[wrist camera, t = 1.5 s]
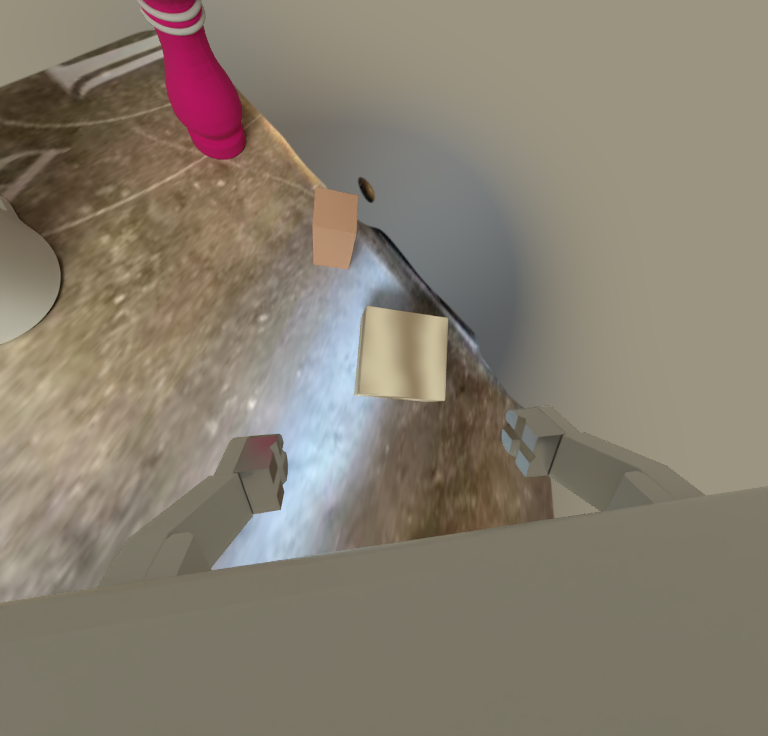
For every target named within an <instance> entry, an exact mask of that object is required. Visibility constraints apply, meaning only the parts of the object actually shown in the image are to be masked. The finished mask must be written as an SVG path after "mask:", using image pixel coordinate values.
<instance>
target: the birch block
mask: <svg viewBox="0 0 768 736" xmlns="http://www.w3.org/2000/svg"><path fill="white" fill-rule="evenodd" d="M447 333H448V318H444V317H437V316H431V315H424V314H418V313H411V312H405V311H398V310H392V309H385V308H378V307H372V306H367V307H366V309H365V311H364V313H363V315H362V318H361V325H360V336H359V347H358V358H357V369H356V381H355V392H354V395H357V396H368V397H379V398H391V399H402V400H413V401H425V402H435V401H445V384H446V359H447Z"/></svg>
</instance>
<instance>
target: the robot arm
mask: <svg viewBox="0 0 768 736" xmlns="http://www.w3.org/2000/svg"><path fill="white" fill-rule="evenodd" d="M60 280H61V273H60V267H59V263H58V260H57V257H56V255H55V253H54V251H53V250H52V248H51V246H50V245H49V244H48V243H47V242H46V240H45V239H44V238H43V237H42V236H41V235H39V234H38V233H37V232H36V231H34V230H33V229H31V228H30V227H28V226H27V225H26V224H24V223H23V222H22V221H21V220H20V219H19V218H18V216H17V214H16V213H15V211H14V209H13V207H12V206H11V204H10V203H9V202H8V201H7V200H6V199H5V198H4V197H2V196H0V344H2V343H5V342H7V341H10V340H12V339H14V338H16V337H18V336H20V335H22V334H23V333H25V332H27V331H28V330H30V329H31V328H32V327H34V326H35V325H36V324H37V323H38V322H39V321H40V320H41V319H42V318H43V317H44V316H45V315H46V314H47V313H48V311H49V310H50V308H51V307H52V305H53V304H54V302H55V300H56V297H57V295H58V292H59V288H60ZM505 419H506V421H507V422H508V424H507V425H506V426H505V427H504V428H503V432H502V440H503V444H504V447H505V449H506V450H507V452H508V453H509V454H510V455H512V456H514V457H516V462H515V463H516V465H517V466H518V467H519V469H520V470H521V471H522V473H523V474H524V476H525V477H533V476H543V475H549V477H551V478H552V479H554V480H555V481H557V482H558V483H560V484H561V485H563V486H564V487H566V488H567V489H568V490H570V491H571V492H573V493H574V494H576V495H577V496H579V497H580V498H582V499H583V500H585V501H586V502H588V503H589V504H591V505H592V506H594V507H595V508H597V509H598V510H599V511H601V512H595V513H588V514H581V515H575V516H568V517H562V518H555V519H548V520H542V521H535V522H529V523H522V524H515V525H509V526H502V527H496V528H489V529H483V530H476V531H469V532H463V533H456V534H450V535H443V536H436V537H430V538H423V539H416V540H410V541H403V542H397V543H390V544H383V545H377V546H370V547H364V548H357V549H350V550H344V551H337V552H331V553H324V554H317V555H311V556H304V557H298V558H291V559H284V560H278V561H271V562H265V563H258V564H252V565H245V566H238V567H232V568H225V569H219V570H211V567H212V566H213V565H214V564H215V562H216V561H217V560H218V559H219V557H220V556H221V555H222V554H223V552H224V551H225V550H226V549H227V547H228V546H229V545H230V544H231V542H232V541H233V540H234V539H235V538H236V536H237V535H238V534H239V533H240V531H241V530H242V529H243V528H244V526H245V525H246V524H247V523H248V521H249V520H250V519H251V518H252V516H253V514H258V513H264V512H270V511H276V510H281V505H282V500H283V495H284V489H283V484H284V483H285V482H286V480H287V474H288V461H287V455H286V452H284V451H283V450H282V448H283V439H282V435H280V434H271V435H259V436H249V437H238V438H233V439H232V440H231V441H230V443H229V445H228V447H227V449H226V451H225V453H224V455H223V457H222V459H221V461H220V463H219V466H218V468H217V470H216V472H215V474H214V476H208V477H207V478H206V479H205V480H203V481H202V482H201V483H199V484H198V485H197V486H196V487H194V488H193V489H192V490H190V491H189V492H188V493H187V494H185V495H184V496H183V497H181V498H180V499H179V500H178V501H176V502H175V503H174V504H172V505H171V506H170V507H169V508H167V509H166V510H165V511H163V512H162V513H161V514H160V515H158V516H157V517H156V518H154V519H153V520H152V521H151V522H149V523H148V524H147V525H145V526H144V527H143V528H142V529H140V530H139V531H138V532H136V533H135V534H134V535H133V536H131V537H130V538H129V539H128V540H127V542H126V543H125V545H124V546H123V548H122V549H121V551H120V553H119V554H118V556H117V557H116V559H115V560H114V562H113V563H112V565H111V566H110V568H109V569H108V571H107V573H106V574H105V576H104V577H103V579H102V580H101V582H100V583H99V585H98V586H97V588H93V589H87V590H80V591H74V592H67V593H61V594H54V595H48V596H41V597H34V598H28V599H21V600H15V601H8V602H2V603H0V736H768V486H766V487H760V488H753V489H747V490H741V491H734V492H727V493H721V494H714V495H707V496H706V495H704V494H703V493H702V492H701V491H699V490H698V489H697V488H695V487H694V486H693V485H691V484H690V483H689V482H688V481H686V480H685V479H684V478H682V477H681V476H680V475H678V474H677V473H676V472H674V471H673V470H672V469H671V468H669V467H668V466H666V465H664V464H661V463H659V462H656V461H654V460H652V459H649V458H646V457H644V456H642V455H639V454H637V453H634V452H632V451H630V450H627V449H625V448H622V447H620V446H617V445H615V444H612V443H610V442H607V441H605V440H603V439H600V438H598V437H595V436H592V435H590V434H588V433H586V432H583V433H581V432H579V430H577V429H576V428H575V427H574V426H573V425H572V424H570V422H568V421H567V420H566V419H565V418H564V417H563V416H562V415H561V414H560V413H558V412H557V411H556V410H555V409H554V408H553V407H551V406H549V405H545V406H537V407H532V408H523V409H513V410H509V411H508V412H507V414H506V418H505Z"/></svg>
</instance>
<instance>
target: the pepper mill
mask: <svg viewBox="0 0 768 736" xmlns="http://www.w3.org/2000/svg"><path fill="white" fill-rule="evenodd" d="M137 2H138V3H139V6H140V10H141V12H142V14H143V16H144V17H145V18H146V19H147V21H148V22H149V23H150V24H151V25H153V26H154V28H155V30H156V32H157V34H158V37H159V40H160V43H161V45H162V49H163V54H164V63H165V83H166V89H167V94H168V97H169V100H170V103H171V105H172V108H173V110H174V112H175V114H176V116H177V117H178V119H179V120H180V121H181V122H182V123H183V124H184V125H185V126H186V127H187V130H188V132H189V134H190V136H191V139H192V141H193V143H194V145H195V146H196V147H197V148H198V149H199V150H200V151H201V152H202V153H203V154H205V155H207V156H209V157H211V158H215V159H230V158H233V157H235V156H237V155H238V154H239V153H241V152H242V150H243V149H244V146H245V141H246V140H245V134H244V131H243V127H242V123H241V119H242V106H241V102H240V99H239V96H238V93H237V91H236V89H235V87H234V85H233V83H232V82H231V80H230V78H229V77H228V75H227V74H226V72H225V71H224V69H223V68H222V67H221V66H220V64H219V63H218V61H217V60H216V58H215V56H214V54H213V52H212V51H211V48H210V46H209V43H208V40H207V37H206V34H205V30H204V26H203V24H204V22H205V11H204V7H203V5H202V3H201V0H137Z"/></svg>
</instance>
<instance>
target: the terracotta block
mask: <svg viewBox="0 0 768 736" xmlns="http://www.w3.org/2000/svg"><path fill="white" fill-rule="evenodd" d="M357 213H358V195H354V194H349V193H344V192H339V191H334V190H329V189H324V188H318V187H316V190H315V203H314V216H313V259H314V264H315V265H322V266H329V267H337V268H344V269H349V265H350V261H351V256H352V252H353V247H354V242H355V238H356V233H357Z"/></svg>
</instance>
